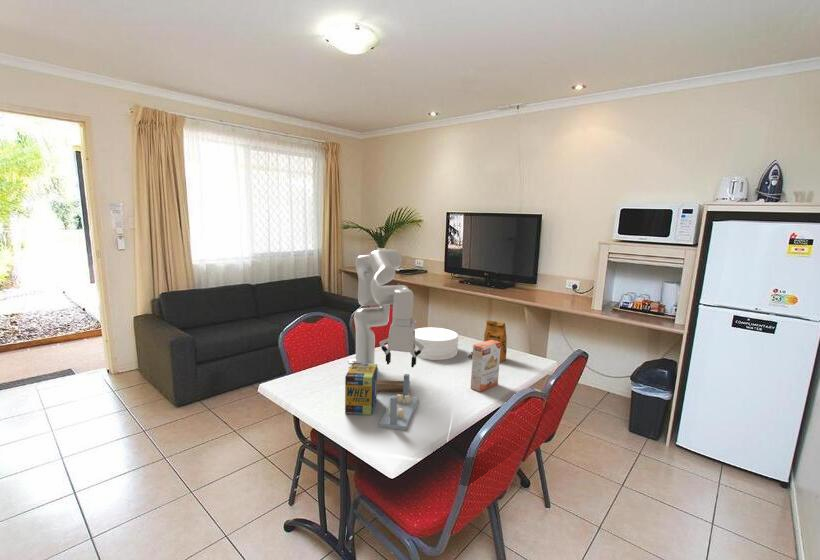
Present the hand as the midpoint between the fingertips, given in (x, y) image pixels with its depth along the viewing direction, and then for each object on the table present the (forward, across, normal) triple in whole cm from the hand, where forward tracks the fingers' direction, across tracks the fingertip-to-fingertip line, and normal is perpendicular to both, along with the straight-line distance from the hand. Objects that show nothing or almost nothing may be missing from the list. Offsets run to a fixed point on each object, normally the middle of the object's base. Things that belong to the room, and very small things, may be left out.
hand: (400, 364), depth 148 cm
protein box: (+20, +16, -1) cm, 26 cm away
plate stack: (+22, -2, -76) cm, 79 cm away
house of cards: (+21, -28, -72) cm, 80 cm away
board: (+20, +8, -19) cm, 29 cm away
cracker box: (+20, -33, -34) cm, 51 cm away
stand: (+20, -1, +1) cm, 20 cm away
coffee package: (+21, -37, -73) cm, 85 cm away
